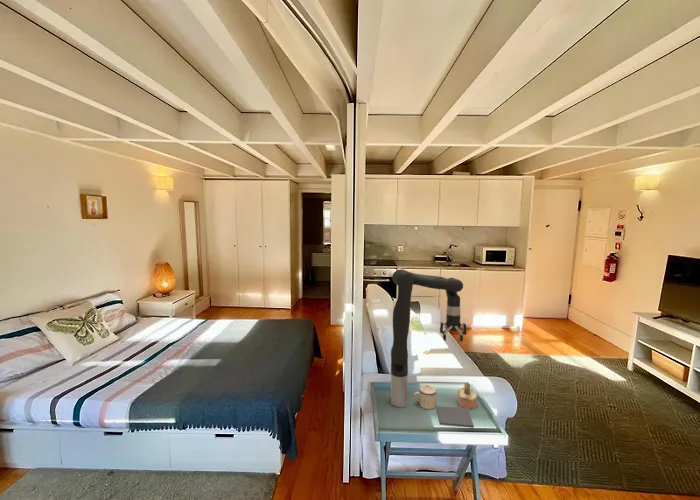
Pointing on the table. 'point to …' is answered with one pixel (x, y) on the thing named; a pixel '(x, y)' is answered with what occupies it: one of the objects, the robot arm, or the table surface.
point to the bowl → (467, 403)
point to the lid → (467, 393)
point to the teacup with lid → (427, 396)
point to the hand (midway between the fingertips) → (452, 340)
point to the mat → (454, 416)
